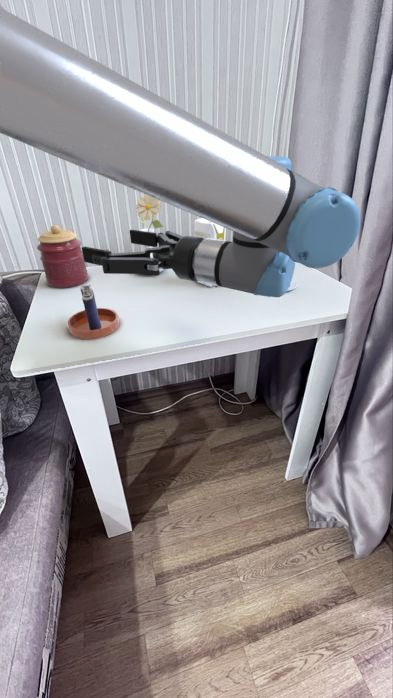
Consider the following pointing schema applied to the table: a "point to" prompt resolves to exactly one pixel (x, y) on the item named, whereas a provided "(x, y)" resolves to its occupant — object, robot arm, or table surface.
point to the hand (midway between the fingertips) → (109, 244)
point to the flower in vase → (149, 214)
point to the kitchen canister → (62, 258)
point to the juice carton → (209, 232)
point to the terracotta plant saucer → (82, 330)
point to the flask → (90, 307)
